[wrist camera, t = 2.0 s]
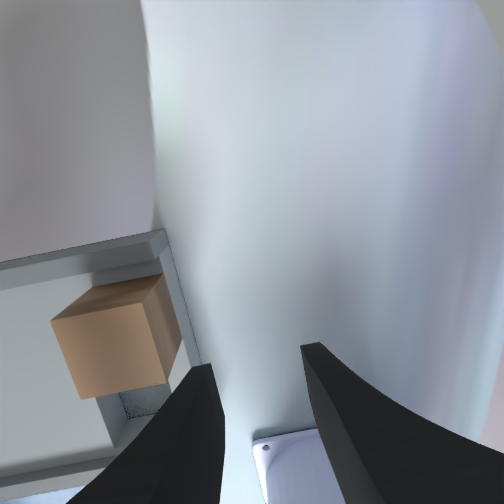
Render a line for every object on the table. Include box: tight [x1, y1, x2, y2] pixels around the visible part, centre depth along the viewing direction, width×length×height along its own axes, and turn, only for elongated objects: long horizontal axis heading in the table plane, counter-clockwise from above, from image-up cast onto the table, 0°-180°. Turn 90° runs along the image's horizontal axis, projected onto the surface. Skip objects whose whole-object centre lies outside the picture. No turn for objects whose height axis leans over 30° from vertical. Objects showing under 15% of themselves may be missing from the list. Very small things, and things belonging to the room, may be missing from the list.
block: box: [50, 273, 182, 400], centre depth 16 cm, size 4×4×4 cm
